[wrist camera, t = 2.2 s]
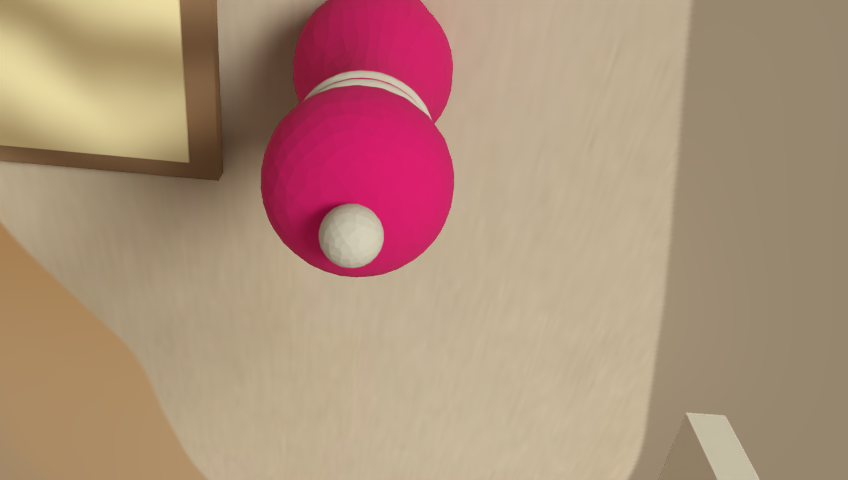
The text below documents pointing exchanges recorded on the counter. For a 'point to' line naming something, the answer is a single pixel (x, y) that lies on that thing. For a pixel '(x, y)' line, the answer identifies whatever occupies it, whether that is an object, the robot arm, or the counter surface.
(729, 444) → the robot arm
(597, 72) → the counter surface
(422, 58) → the pepper mill
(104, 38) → the clipboard
